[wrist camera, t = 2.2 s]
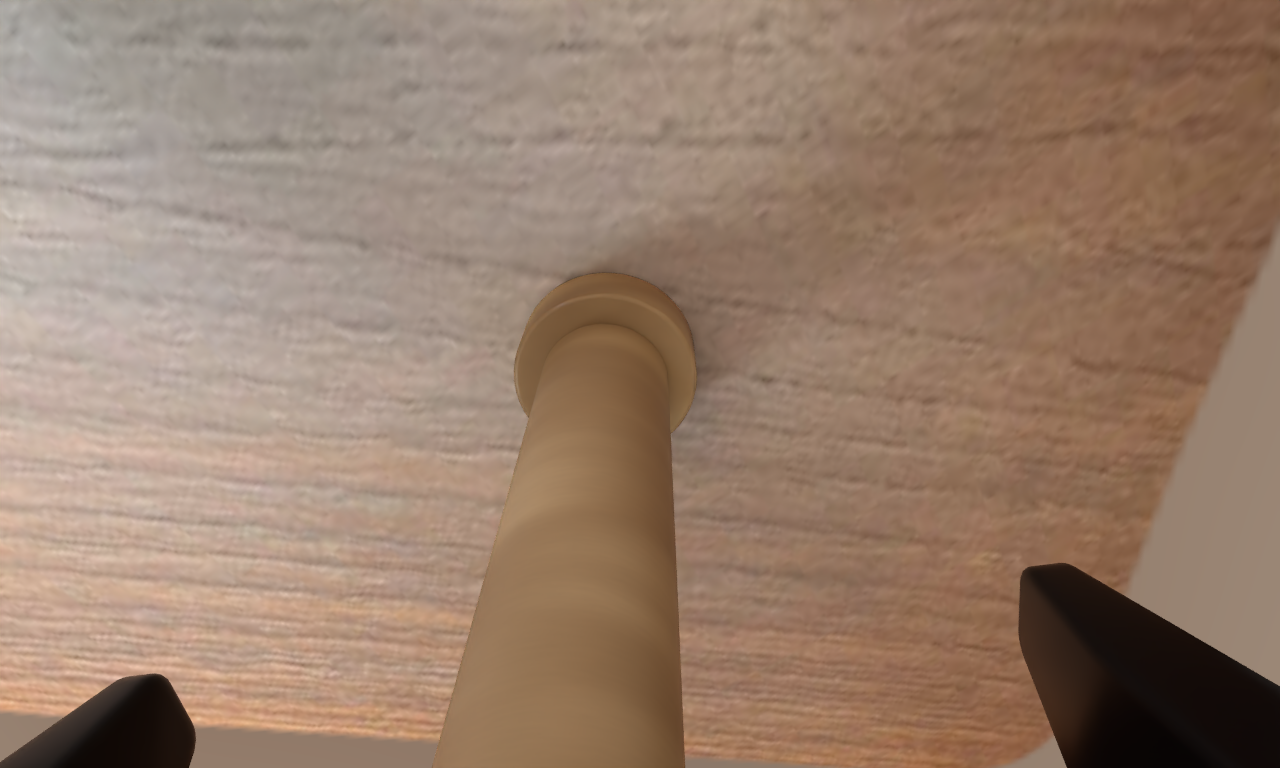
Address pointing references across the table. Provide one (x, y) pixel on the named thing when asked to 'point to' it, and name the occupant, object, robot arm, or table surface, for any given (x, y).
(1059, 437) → the table surface
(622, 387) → the handle grip
